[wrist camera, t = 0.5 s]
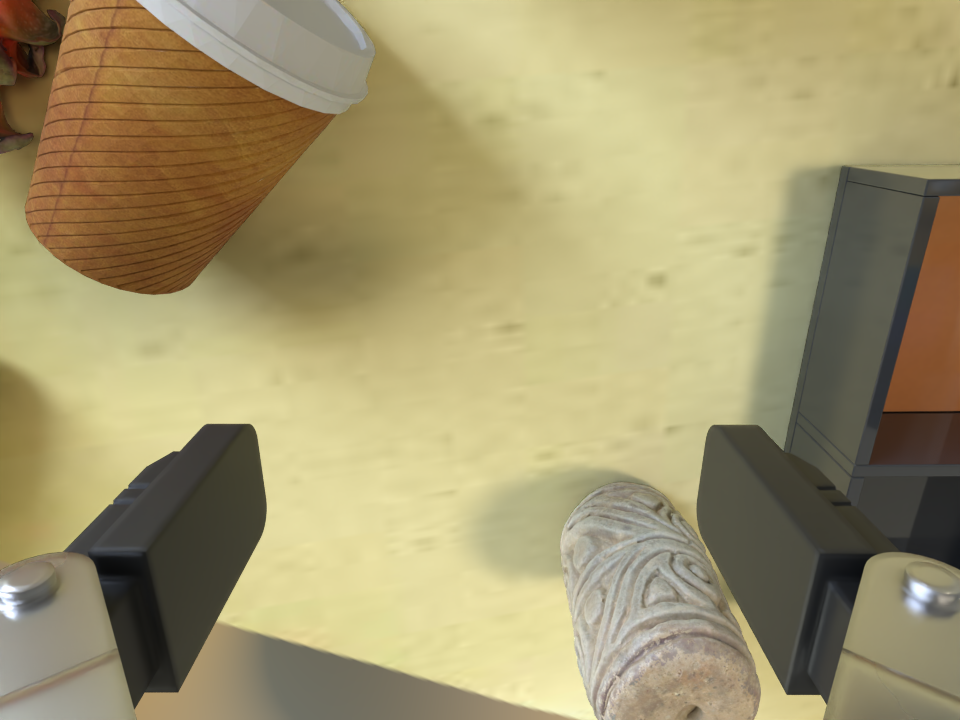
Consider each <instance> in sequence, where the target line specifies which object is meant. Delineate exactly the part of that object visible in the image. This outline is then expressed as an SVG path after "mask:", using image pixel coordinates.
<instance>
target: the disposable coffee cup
mask: <svg viewBox="0 0 960 720" xmlns="http://www.w3.org/2000/svg"><path fill="white" fill-rule="evenodd" d="M375 53H376V51H375V46H374V44H373V43H372V41H371V39H370V38H369V36H368V35H367V33H366V32H365V30H364V29H363V28H362V27H361V25H360V24H359V23H358V22H357V21H356V19H355V18H354V17H353V16H352V15H351V14H350V12H349V11H348V10H347V9H346V8H345V7H344V6H343V5H342V4H341V3H340V2H339V1H338V0H71V1H70V5H69V9H68V14H67V19H66V25H65V27H64V32H63V37H62V43H61V45H60V50H59V56H58V61H57V65H56V70H55V75H54V79H53V82H52V87H51V93H50V96H49V101H48V106H47V111H46V115H45V120H44V125H43V129H42V133H41V138H40V144H39V147H38V152H37V157H36V160H35V166H34V171H33V175H32V179H31V184H30V189H29V193H28V197H27V201H26V204H25V213H26V220H27V222H28V225H29V227H30V229H31V231H32V232H33V234H34V235H35V236H36V238H37V239H38V241H39V242H40V243H41V244H42V245H43V246H44V247H45V248H46V249H48V250H49V251H50V252H51V253H52V254H53V255H54V256H55V257H56V258H58V259H59V260H60V261H62V262H63V263H64V264H66V265H67V266H69V267H71V268H72V269H74V270H76V271H77V272H79V273H81V274H83V275H85V276H87V277H89V278H91V279H93V280H96V281H98V282H100V283H102V284H105V285H108V286H111V287H114V288H117V289H120V290H125V291H131V292H136V293H141V294H152V295H156V294H169V293H173V292H177V291H180V290H183V289H185V288H186V287H188V286H189V285H190V284H191V283H192V282H193V281H194V280H195V279H196V277H197V276H198V275H199V274H200V273H201V271H202V270H203V269H204V268H205V267H206V266H207V264H208V263H209V262H210V261H211V260H212V259H213V257H214V256H215V255H216V254H217V253H218V252H219V250H220V249H221V248H222V247H223V246H224V245H225V243H226V242H227V241H228V240H229V239H230V238H231V236H232V235H233V234H234V233H235V232H236V231H237V229H238V228H239V227H240V226H241V225H242V224H243V223H244V221H245V220H246V219H247V218H248V217H249V216H250V214H251V213H252V212H253V211H254V210H255V209H256V208H257V206H258V205H259V204H260V203H261V202H262V200H263V199H264V198H265V197H266V196H267V195H268V193H269V192H270V191H271V190H272V189H273V188H274V186H275V185H276V184H277V183H278V182H279V180H280V179H281V178H282V177H283V176H284V175H285V174H286V172H287V171H288V170H289V169H290V168H291V167H292V165H293V164H294V163H295V162H296V161H297V160H298V158H299V157H300V156H301V155H302V154H303V153H304V152H305V150H306V149H307V148H308V147H309V146H310V145H311V144H312V143H313V141H314V140H315V139H316V138H317V137H318V136H319V134H320V133H321V132H322V131H323V130H324V129H325V128H326V126H327V125H328V124H329V123H330V122H331V120H332V119H333V118H334V117H335V116H336V115H337V114H341V113H343V112H345V111H347V110H348V109H349V107H350V106H351V104H358V103H359V102H360V101H362V100H363V99H364V98H365V97H366V95H367V94H368V86H367V83H366V78H367V75H368V72H369V70H370V67H371V64H372V62H373V59H374V56H375Z"/></svg>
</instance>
